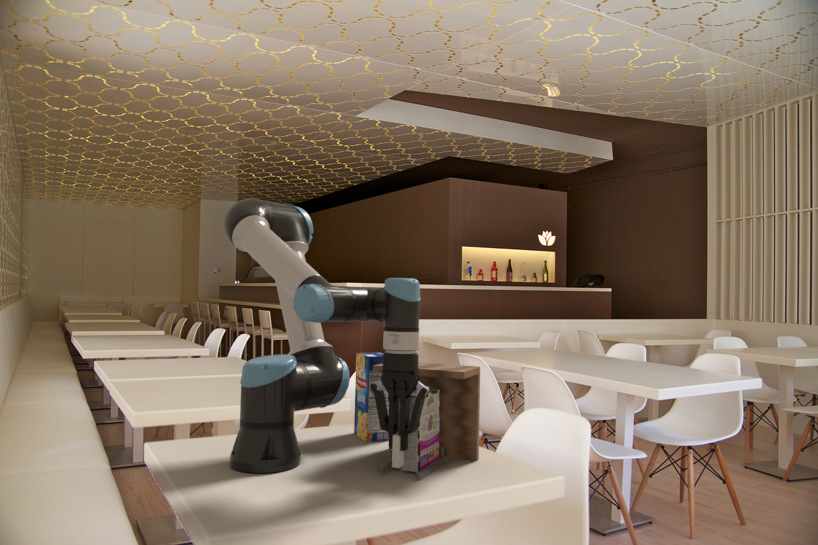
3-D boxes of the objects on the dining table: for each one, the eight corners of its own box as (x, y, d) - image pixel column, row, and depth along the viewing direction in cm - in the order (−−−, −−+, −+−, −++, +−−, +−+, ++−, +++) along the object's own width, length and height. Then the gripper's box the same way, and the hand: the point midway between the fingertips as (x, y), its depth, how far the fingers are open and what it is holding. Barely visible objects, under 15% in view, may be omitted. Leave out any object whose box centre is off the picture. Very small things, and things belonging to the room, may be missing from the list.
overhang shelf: (352, 469, 123) (355, 369, 124) (393, 447, 142) (395, 360, 143) (448, 484, 114) (450, 376, 115) (478, 459, 133) (480, 366, 134)
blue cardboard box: (366, 442, 147) (369, 356, 148) (353, 433, 157) (356, 352, 158) (391, 440, 149) (393, 356, 150) (377, 431, 159) (379, 352, 161)
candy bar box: (420, 458, 132) (421, 387, 133) (440, 461, 130) (441, 389, 131) (398, 471, 122) (399, 393, 123) (419, 474, 120) (420, 395, 121)
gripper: (364, 351, 118) (361, 466, 117) (423, 354, 113) (420, 475, 112) (380, 348, 125) (376, 457, 124) (436, 352, 120) (433, 465, 119)
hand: (397, 465), depth 118 cm, fingers closed
